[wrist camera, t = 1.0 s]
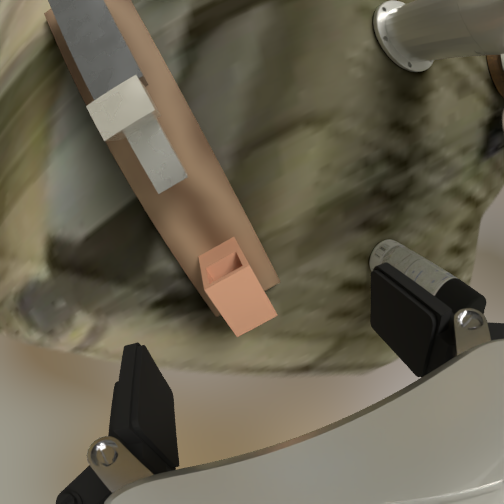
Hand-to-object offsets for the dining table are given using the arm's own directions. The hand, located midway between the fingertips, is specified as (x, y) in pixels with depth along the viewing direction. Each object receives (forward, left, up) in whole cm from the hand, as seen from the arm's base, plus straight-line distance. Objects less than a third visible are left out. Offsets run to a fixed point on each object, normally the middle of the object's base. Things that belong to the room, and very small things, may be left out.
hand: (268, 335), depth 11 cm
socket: (+2, +9, -25) cm, 27 cm away
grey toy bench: (+2, -23, -25) cm, 34 cm away
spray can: (-20, +22, -27) cm, 40 cm away
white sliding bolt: (+2, -18, -21) cm, 27 cm away
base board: (+2, -9, -27) cm, 28 cm away
